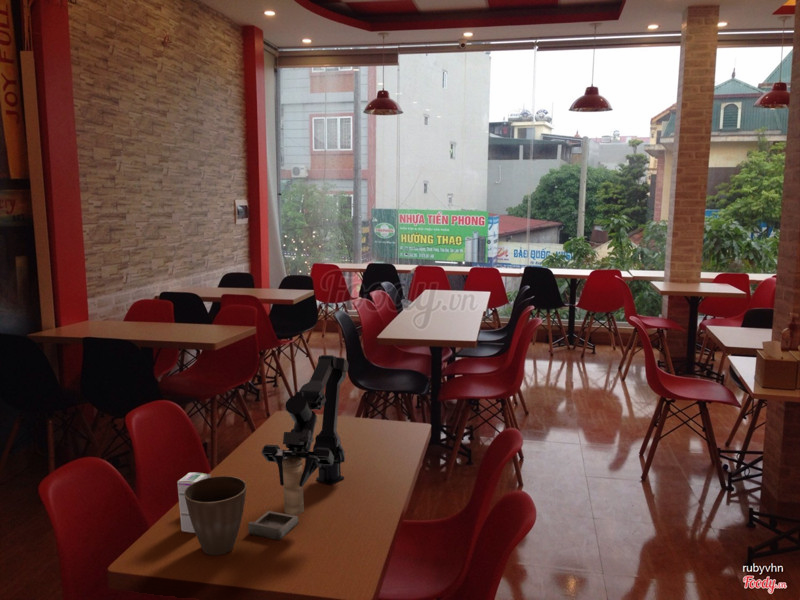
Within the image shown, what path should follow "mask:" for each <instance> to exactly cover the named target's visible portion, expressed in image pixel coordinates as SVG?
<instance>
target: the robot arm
mask: <svg viewBox="0 0 800 600" xmlns="http://www.w3.org/2000/svg"><path fill="white" fill-rule="evenodd" d="M318 356H319V357H318V358H317V364H316V366H315V368H314V371H312V372H313V373H312V375H311V377H310V380H308V382H307V383H305V384H303V385H302V386H301V387H300V388H299V390H298V391H295V393H294V395H292V396H291V397H289V398H288V399H287V401H286V402H285V405H284V406H285V410H286V412H287V413H288V415H289V416H290V418H291V420H292V421H293V422H294V424H293V428H292V429H291V430H290V431H284V432H283V437H282V445H285V448H286V449H281V447H280V446H279V445H278V444H265V445H264V446H263V447H262V448H261V449H262V451H261V455H262V456H263V457H264V459H265V460H266V461H267V462H268V463H270V462H271V463H276V465H277V467H278V474H279V484H280V486H281V487H284V485H283V465H282V461H283V459H285V458H288V457H300V458H301V459H302V460H303V459H305V460H304V466H303V469H302V477H301V482H300V487H303V488H304V485H305V484H306V482H308V480H309V478H310V477H311V476H312V475H313V473H314V472H315V471H316V470H317V469H318V476H317V477H316V481H319V482H321V483H324V484H326V485H330V486H331V485H333V484H336V483H338V482H339V481H341V480H343V479H344V480H345V476H343V475H341V465H342V463H344V462H345V461H346V455H345V453H346V452H345V450H344V448H343V446H342V445H341V444H342V443H341V442H342V441H341V438H340V436H339V434H338V431H337V429H338V416H339V413H338V412H339V405H340V404H339V403H340V390H341V385H342V383H343V382H344V381H345V379H346V377H347V373H348V371H349V361H348V360H347V359H346V358H345V357H341V356H340V357H339V356H335V355H333V354H329V355H328V354H322V355H318ZM322 408H323V411H322V412H323V413H322V421H321V422H322V425H321V430H320V432H318V434H316V436H315V441H314V433H315V428H316V423H318V416H317V414H316V413H315V411H313V410H316V411H319V410H321V409H322ZM312 443H314V444H313V447H312ZM311 447H312V450H311Z"/></svg>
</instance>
